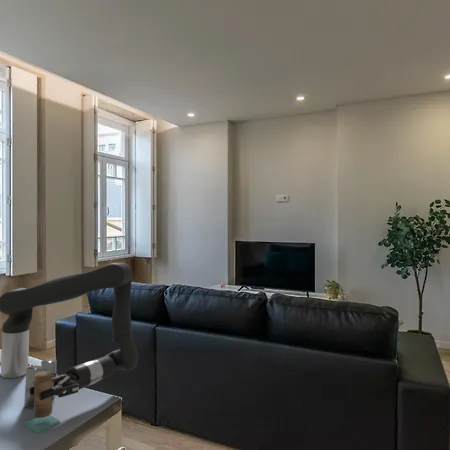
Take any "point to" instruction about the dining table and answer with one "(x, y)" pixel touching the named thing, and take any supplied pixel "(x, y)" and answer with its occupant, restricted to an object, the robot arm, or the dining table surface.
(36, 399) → the cylinder
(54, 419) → the teal mat
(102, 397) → the dining table surface
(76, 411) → the dining table surface
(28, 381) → the silver tall tapered cylinder
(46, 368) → the shiny grey metal cylinder
